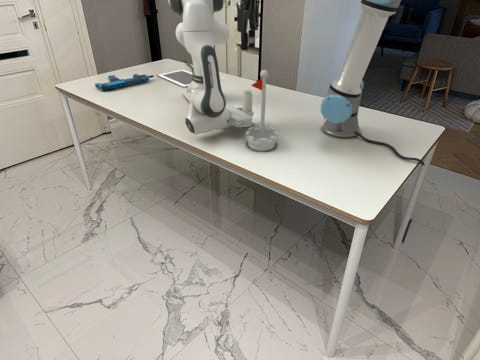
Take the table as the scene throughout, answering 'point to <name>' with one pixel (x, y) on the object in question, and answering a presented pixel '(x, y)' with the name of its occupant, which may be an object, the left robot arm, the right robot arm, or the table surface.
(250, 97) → the jar
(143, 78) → the submachine gun
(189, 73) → the tablet
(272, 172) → the table surface
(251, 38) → the lid
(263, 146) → the flag stand
